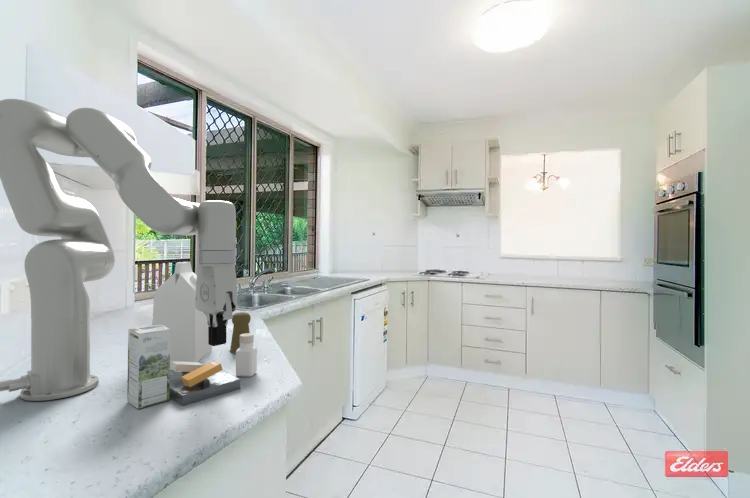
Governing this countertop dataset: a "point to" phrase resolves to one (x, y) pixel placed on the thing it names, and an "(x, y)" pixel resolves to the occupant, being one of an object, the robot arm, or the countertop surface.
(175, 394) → the breaker panel
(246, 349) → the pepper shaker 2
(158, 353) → the syrup box
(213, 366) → the rocker orange
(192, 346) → the milk
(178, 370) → the rocker white
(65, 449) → the countertop surface
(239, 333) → the pepper shaker
